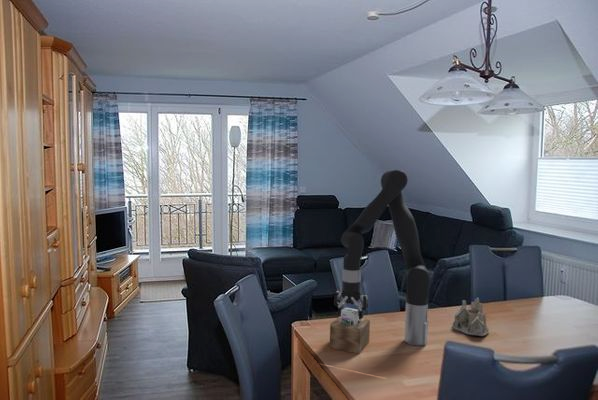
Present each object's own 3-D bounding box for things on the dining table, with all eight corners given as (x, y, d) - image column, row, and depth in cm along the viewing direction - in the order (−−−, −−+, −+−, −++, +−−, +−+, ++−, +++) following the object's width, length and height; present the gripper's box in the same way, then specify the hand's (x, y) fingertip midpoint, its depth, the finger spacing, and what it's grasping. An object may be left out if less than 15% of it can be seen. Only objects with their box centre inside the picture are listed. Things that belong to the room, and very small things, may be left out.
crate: (369, 342, 193) (369, 319, 192) (359, 353, 181) (360, 329, 180) (340, 337, 198) (341, 315, 198) (329, 347, 187) (330, 324, 186)
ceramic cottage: (454, 323, 219) (455, 292, 218) (490, 329, 211) (492, 298, 210) (447, 333, 206) (449, 301, 204) (486, 340, 198) (488, 307, 196)
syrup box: (339, 344, 188) (340, 310, 187) (345, 339, 194) (346, 306, 192) (352, 347, 186) (353, 312, 184) (357, 342, 191) (358, 309, 190)
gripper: (370, 279, 188) (369, 317, 189) (338, 275, 194) (337, 312, 195) (365, 283, 181) (364, 323, 182) (332, 279, 187) (331, 317, 189)
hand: (350, 317), depth 189 cm, fingers open, 8 cm apart
